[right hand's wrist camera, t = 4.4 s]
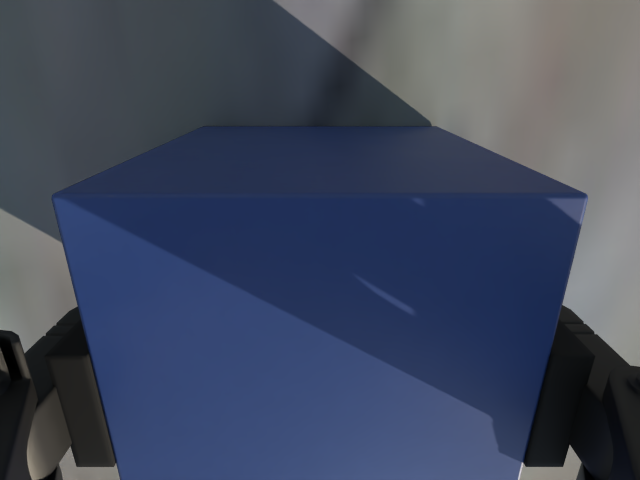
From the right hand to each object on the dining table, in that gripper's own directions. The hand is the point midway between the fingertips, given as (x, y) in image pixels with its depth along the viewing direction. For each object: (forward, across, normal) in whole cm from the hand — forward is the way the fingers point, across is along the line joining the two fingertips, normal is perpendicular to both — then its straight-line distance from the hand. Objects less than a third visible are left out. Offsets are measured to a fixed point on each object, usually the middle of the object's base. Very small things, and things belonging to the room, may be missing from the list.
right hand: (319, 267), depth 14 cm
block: (+3, 0, 0) cm, 3 cm away
